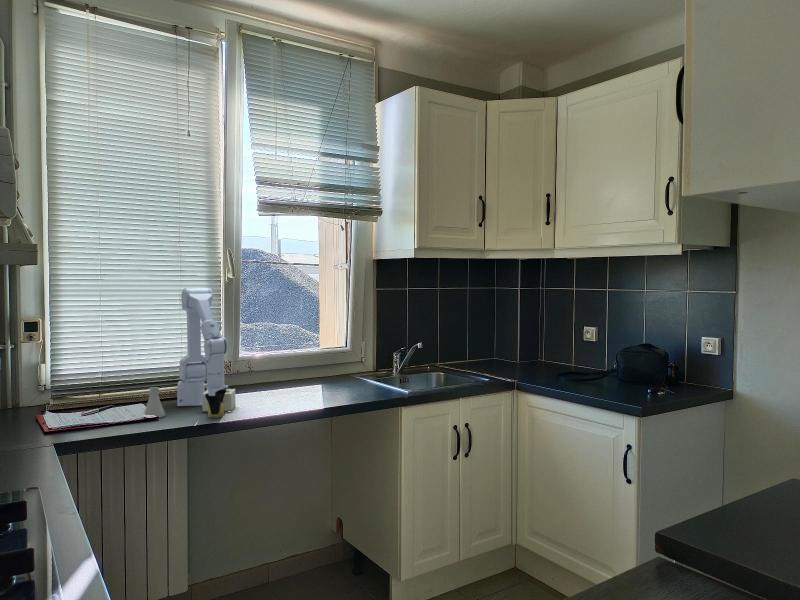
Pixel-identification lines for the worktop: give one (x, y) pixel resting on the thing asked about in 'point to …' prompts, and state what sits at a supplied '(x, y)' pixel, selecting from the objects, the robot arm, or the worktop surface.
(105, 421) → the worktop surface
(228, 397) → the box
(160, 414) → the flask
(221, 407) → the block
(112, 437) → the worktop surface
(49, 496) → the worktop surface
